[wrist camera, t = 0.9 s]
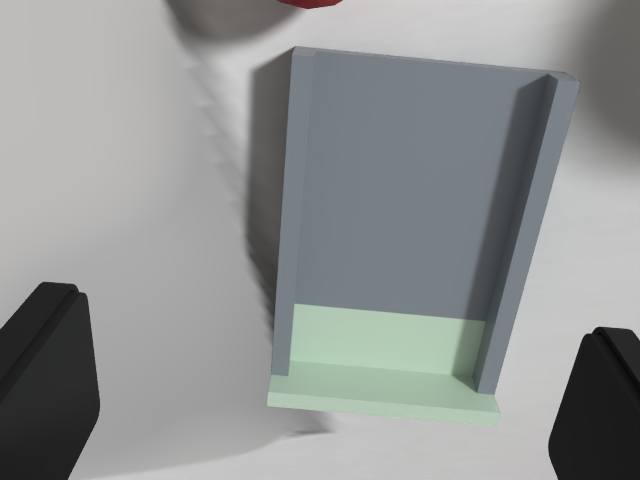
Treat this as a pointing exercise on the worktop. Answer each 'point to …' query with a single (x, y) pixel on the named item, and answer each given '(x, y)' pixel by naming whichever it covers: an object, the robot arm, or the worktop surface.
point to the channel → (408, 230)
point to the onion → (310, 3)
